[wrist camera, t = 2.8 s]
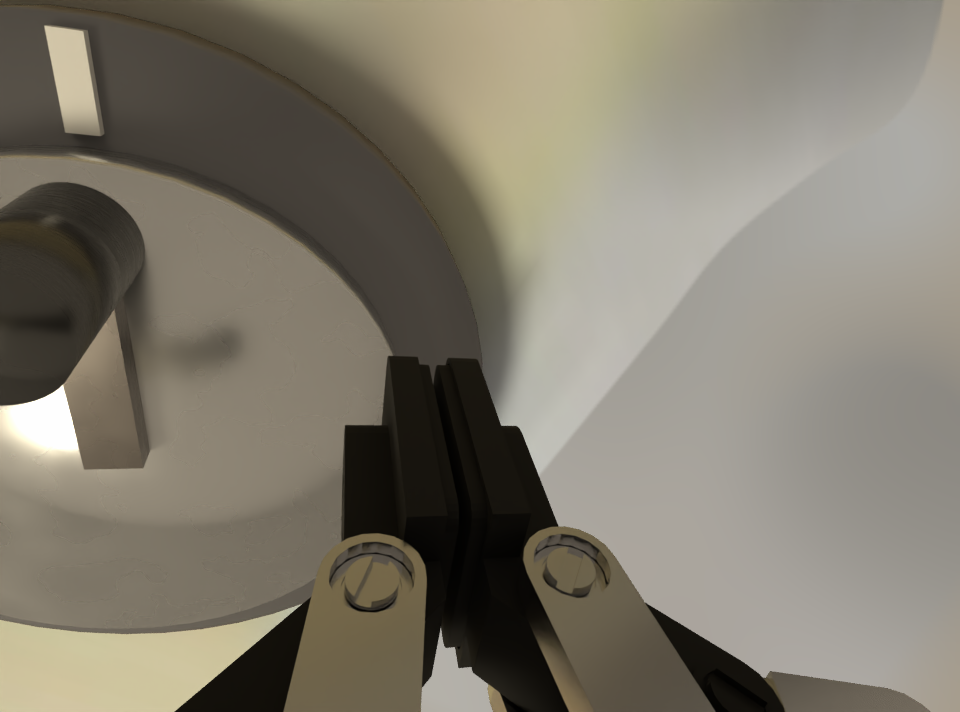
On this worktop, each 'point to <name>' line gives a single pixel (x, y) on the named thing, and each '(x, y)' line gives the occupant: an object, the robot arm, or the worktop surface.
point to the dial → (167, 392)
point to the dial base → (236, 168)
